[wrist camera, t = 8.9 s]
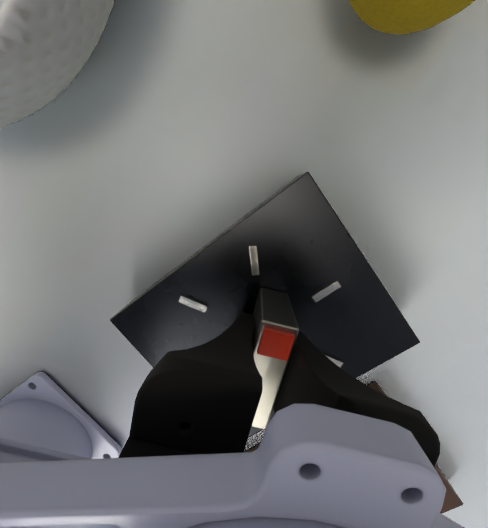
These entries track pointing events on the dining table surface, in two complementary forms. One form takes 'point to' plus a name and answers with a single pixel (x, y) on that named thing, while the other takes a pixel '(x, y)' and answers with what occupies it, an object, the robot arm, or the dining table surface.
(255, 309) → the dimmer knob
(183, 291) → the dimmer
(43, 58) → the cereal bowl
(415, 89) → the dining table surface
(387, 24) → the lemon
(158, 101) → the dining table surface
